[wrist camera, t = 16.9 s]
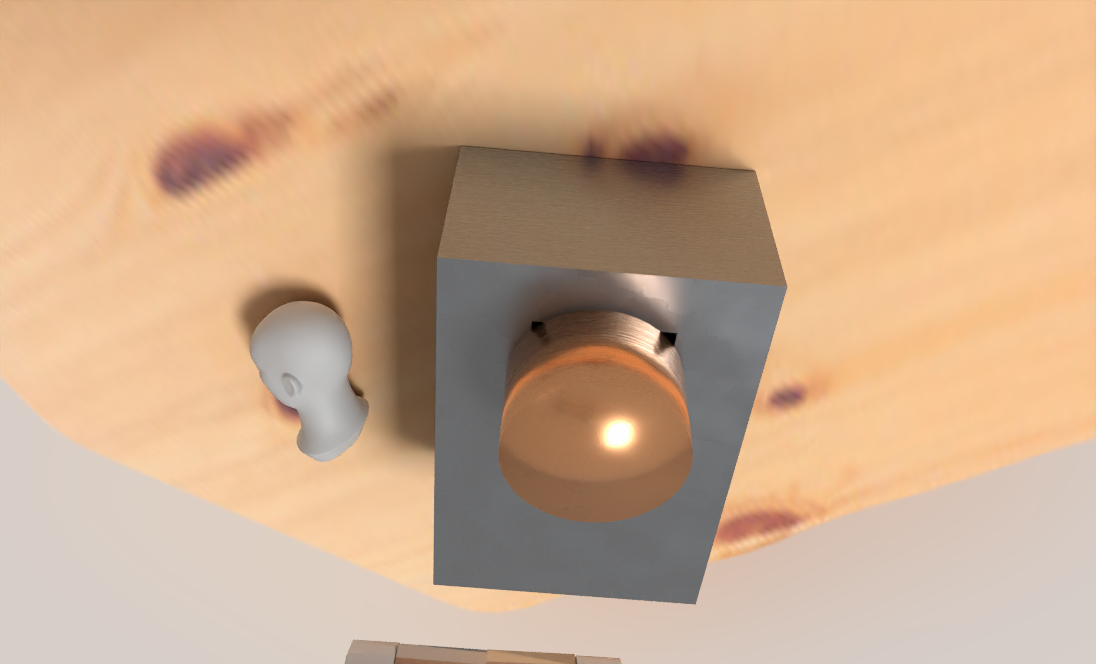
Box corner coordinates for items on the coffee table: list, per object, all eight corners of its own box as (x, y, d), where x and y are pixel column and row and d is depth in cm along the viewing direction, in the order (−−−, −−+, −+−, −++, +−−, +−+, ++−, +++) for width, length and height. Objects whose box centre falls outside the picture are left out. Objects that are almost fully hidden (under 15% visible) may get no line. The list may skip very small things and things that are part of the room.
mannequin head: (267, 271, 45) (365, 290, 44) (299, 401, 50) (388, 422, 48) (211, 325, 42) (315, 346, 40) (251, 458, 47) (345, 482, 45)
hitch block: (452, 457, 50) (433, 584, 44) (461, 145, 39) (436, 257, 33) (682, 475, 51) (695, 604, 44) (755, 171, 40) (787, 286, 33)
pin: (512, 326, 44) (494, 515, 35) (521, 199, 40) (503, 377, 31) (658, 338, 44) (675, 529, 35) (682, 213, 40) (709, 394, 31)
